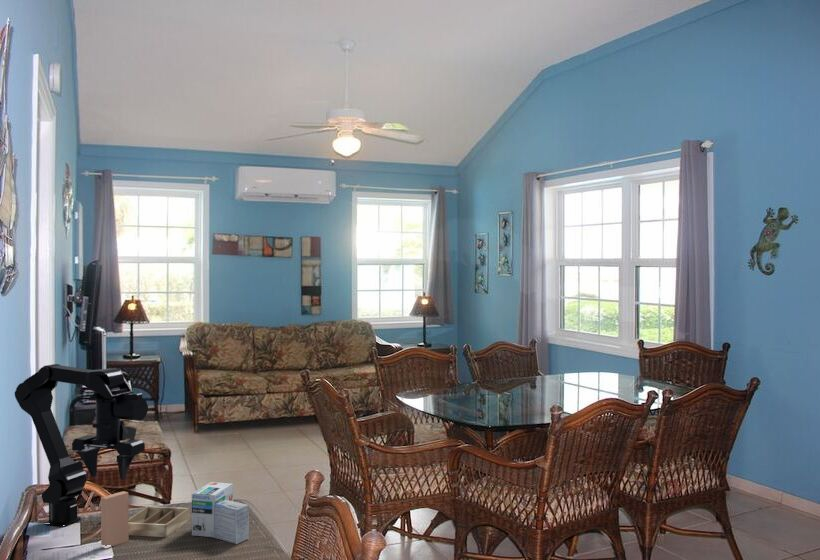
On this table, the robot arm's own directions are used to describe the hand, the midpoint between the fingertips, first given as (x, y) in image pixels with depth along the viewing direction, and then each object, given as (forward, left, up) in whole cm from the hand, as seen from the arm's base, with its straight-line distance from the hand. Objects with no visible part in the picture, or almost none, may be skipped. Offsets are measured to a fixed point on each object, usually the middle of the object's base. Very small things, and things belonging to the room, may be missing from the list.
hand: (108, 478), depth 183 cm
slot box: (+11, +5, -13) cm, 18 cm away
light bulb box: (+26, +8, -13) cm, 30 cm away
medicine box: (+34, +4, -13) cm, 37 cm away
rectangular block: (+9, -8, -13) cm, 18 cm away
